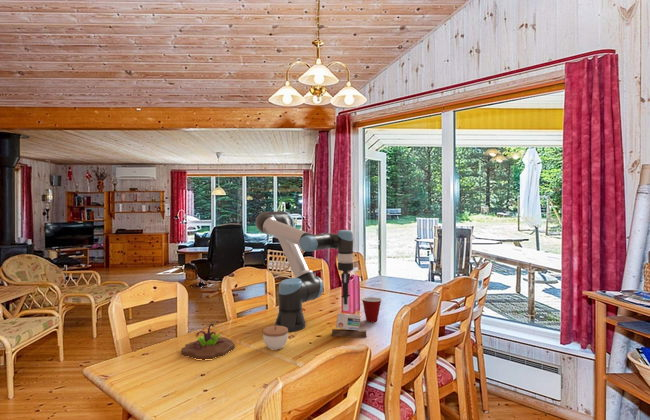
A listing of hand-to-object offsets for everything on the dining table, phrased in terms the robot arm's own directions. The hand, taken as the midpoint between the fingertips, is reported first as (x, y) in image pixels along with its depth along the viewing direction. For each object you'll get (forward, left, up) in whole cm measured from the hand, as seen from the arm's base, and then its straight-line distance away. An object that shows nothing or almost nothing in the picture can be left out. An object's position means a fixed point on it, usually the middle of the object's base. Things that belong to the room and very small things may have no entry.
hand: (345, 310), depth 176 cm
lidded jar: (-29, -24, -10) cm, 39 cm away
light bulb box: (+1, +1, -6) cm, 6 cm away
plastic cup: (+13, +16, -10) cm, 23 cm away
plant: (-56, -29, -11) cm, 64 cm away
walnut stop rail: (+2, -7, -10) cm, 12 cm away
